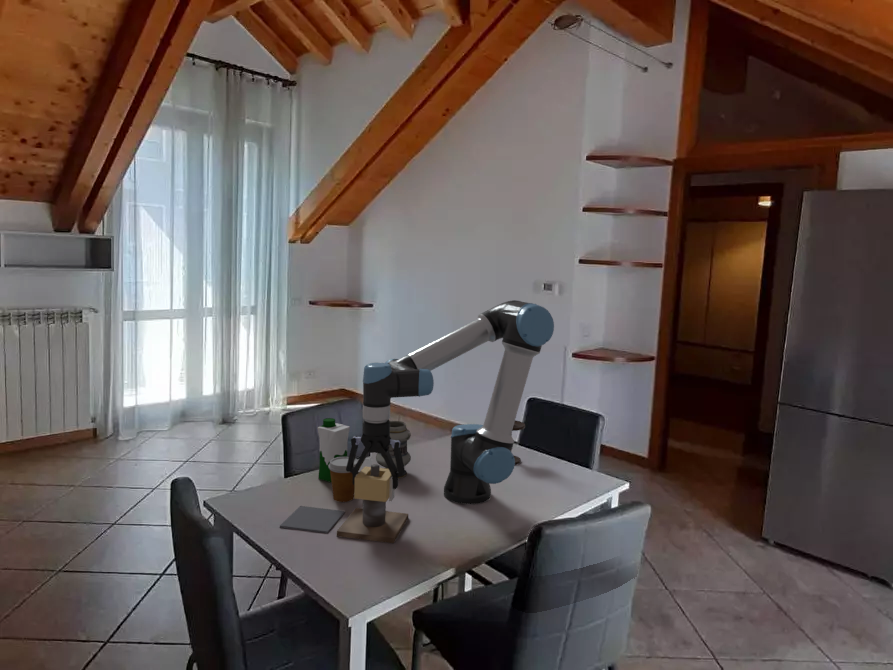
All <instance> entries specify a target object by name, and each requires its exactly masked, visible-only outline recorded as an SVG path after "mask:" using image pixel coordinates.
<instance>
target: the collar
mask: <svg viewBox="0 0 893 670" xmlns="http://www.w3.org/2000/svg"><path fill="white" fill-rule="evenodd" d="M358 472H359V473H358V475H357V476H356V477H355V492H354V499H355V500H362V501H363V500H372V501H382V502H386V503H387V501H389V489H390V478H391V476H392V475H391V473H390V471H389V469H386V468H385V467H380V470H379V477H374V476H371V466H367V465H366V466H363V467H362V469H361V470H359V471H358ZM354 499H353V500H354Z"/></svg>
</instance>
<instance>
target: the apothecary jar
mask: <svg viewBox="0 0 893 670" xmlns="http://www.w3.org/2000/svg"><path fill="white" fill-rule="evenodd" d="M389 421H390V437H391V440H396V441H397V440H401V446H400V449H401V454H402V459H403V464H404V467H405V466H407V465H408V464H409V463H410V462H411V459H412V458H411V454H410V452H409V451H408V441H409V440H410V439H411V436H412V435H411V432H410V430H409V429H408V428H407V424H406V422H405V421H401V420H389ZM388 449H389V453H390V455H391V457H392V460H393V462H394V464H395V466H396V468H397V464H396V459H395V455H394V448H392V445H391V444H389V446H388ZM375 461H376V462H377V463H376V464H378V465H380V467H382V468H386V469H388V466H387V464H386V462H385V460H384V458H383V457H382V455H381V453H380V454H379V453H376V456H375ZM397 470H398V469H397ZM407 474H408V472H407V470H406V469H405V474H404V475H403V476H402V477H398V479H401V478H404V477H406V476H407Z"/></svg>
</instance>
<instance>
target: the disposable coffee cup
mask: <svg viewBox="0 0 893 670" xmlns="http://www.w3.org/2000/svg"><path fill="white" fill-rule="evenodd" d="M348 459H349V456H347V457H337V458H334V459H332V460H331V461H330V464H329V469H330V473H331V482H332V483H331V482H330V483H331V488H332V489H331V490H332V497H333V501H335V502H337V503H338V502H339V503H347V502H352V501H353V500H354V493H355V485H353V483H352V482H353V474H352V473H351V472H347V471H346V467H347V463H348ZM358 460H359V459H357V458H355V461H354V465H353V467H355V465H356V464H357V462H358Z"/></svg>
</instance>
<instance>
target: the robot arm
mask: <svg viewBox="0 0 893 670" xmlns="http://www.w3.org/2000/svg"><path fill="white" fill-rule="evenodd" d="M554 331H555V322H554V318H553V317H552V314H551V312H550V311H549V310H548V309H546V308H545V307H544V306H542V305H539V304H537V303H533V302H527V301H525V302H524V301H521V300H508V301H503V302H502V303H499V304H497V305H495V306H493V307H491V308H489V309H488V310H486V311H483V312H482V313H480V314H478V315H477V318H476V319H475V320H473V321H471V322H469V323H468V324H467V323H466V324H465V325H463V326H462V327H459V328H458V329H455V330H453V331H452V332H450V333H448V334H445V335H443V336H442V337H439V338H438V339H436V340H434V341H432V342H431V343H428V344H427V345H425V346H422V347H421V348H419V349H417V350H415V351H413V352H410V353H409V354H406V355H404V356H402V357H400V358H391V359H388V360H387V361H385V362H370V363H368V364H365V366H364V367H363V374H362V375H363V377H362V393H363V394H362V401H363V402H362V419H363V420H362V433H361V434H362V435H361V436H357V435H354V436H353V437H352V438H351V439H350V442H351V443H350V444H351V447H350V451H349V456H348V457H349V459H348V463H347V467H346V471H347V472H351V473H352V474H353V482H352V483H353V485H355V477H356V476H357V475H358V473H359V472H360V469H361V467H362V465H363V464H364V462H365V460H366V458H367V456H368V455H369V453H371V454H373V453H375V454H377V453H379V454H380V453H381V455H382V457H383V458H384V460H385V462H386V464H387V466H388V469H389V471H390V473H391V475H392V476H391V478H390V489H389V499H388V501H389V502H392V501H394V499H395V490H397V489H398V487H399V478H398V477H402V476H403V475H404V474H405V470H406V469H405V466H404V464H403V459H402V454H401V449H400V446H401V440H397V441H396V440H391V437H390V421H391V420H390V419H391V399H392V398H393V399H394V398H409V397H412V398H413V397H419V398H420V397H423V396H430V395H431V394H432V392H433V390H434V385H435V382H434V380H435V379H434V376H433V372H432V371H433V370H435V369H436V368H438V367H440V366H443V365H445V364H447V363H449V362H451V361H452V360H454V359H456V358H459V357H460V356H462V355H463V354H466V353H467V352H470V351H472V350H474V349H475V348H477V347H479V346H482V345H483V344H485V343H487V342H490V343H494V342H496V341H499V340H501V339H502V341H501V344H502V345H503V347H504V352H503V356H502V359H501V363H500V365H499V369H498V374H497V376H496V380H495V384H494V386H493V391H492V394H491V398H490V402H489V404H488V405H489V406H488V407H487V412H486V415H485V418H484V421H483V424H477V423H476V424H475V423H473V424H472V423H467V424H466V423H464V424H457V425H455V426H454V427H453V428H452V429H451V435H450V463H449V464H450V468H449V473H448V476H447V478H446V481H445V484H444V486H443V496H444V498H446V499H447V500H448V501H450V502H452V503H456V504H461V505H462V504H463V505H478V504H483V503H486V502H488V501H489V500H490V499H491V497H492V488H491V485H490V484H493V485H496V484H499V483H502V482H504V481H505V480H507V479H508V478H509V477H510V476H511V475H512V473H513V472H514V469H515V467H516V465H515V459H514V456H515V455H514V454H513V452H512V450H513V447H514V444H515V441H514V438H513V436H511V432H512V433H513V431H512V429H513V425H514V422H515V420H516V418H517V414H518V412H519V408H520V403H521V401H522V397H523V394H524V390H525V386H526V383H527V379H528V376H529V374H530V369H531V366H532V363H533V359H534V358H535V356H537V355H539V354H540V353H541V351H542V347H543V345H546V343H548V342H549V341H550V340H551V339H552V337H553V334H554ZM361 443H362V444H363V446H364V448H363V451H362V453H361V455H360V456H359V458H358V459H357V460H358V462H357V464H356V465H355V467H353V465H354V461H355V459H356V456H357V453H358V448H359V444H361ZM389 444H391V445H392V448H394V455H395V459H396V464H397V468H396V466H395V464H394V462H393V460H392V457H391V455H390V453H389V449H388V446H389ZM513 455H514V456H513ZM397 469H398V470H397ZM402 478H403V477H402Z"/></svg>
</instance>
